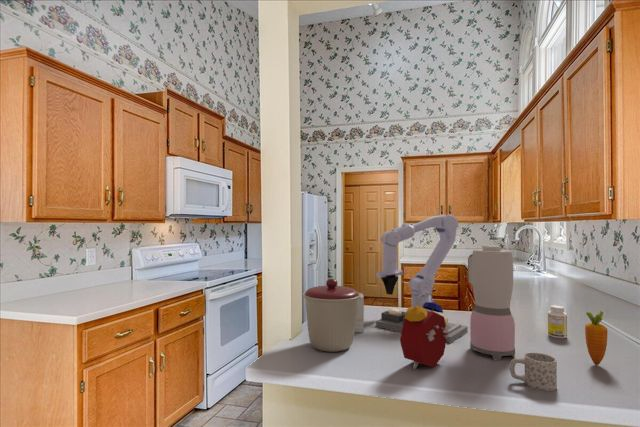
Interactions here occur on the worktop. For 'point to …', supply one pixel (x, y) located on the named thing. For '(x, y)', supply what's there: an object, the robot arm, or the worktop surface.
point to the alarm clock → (424, 333)
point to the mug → (537, 371)
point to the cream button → (395, 311)
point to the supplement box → (360, 315)
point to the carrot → (596, 338)
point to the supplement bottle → (557, 322)
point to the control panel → (398, 320)
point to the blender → (492, 301)
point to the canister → (331, 316)
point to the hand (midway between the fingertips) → (389, 294)
